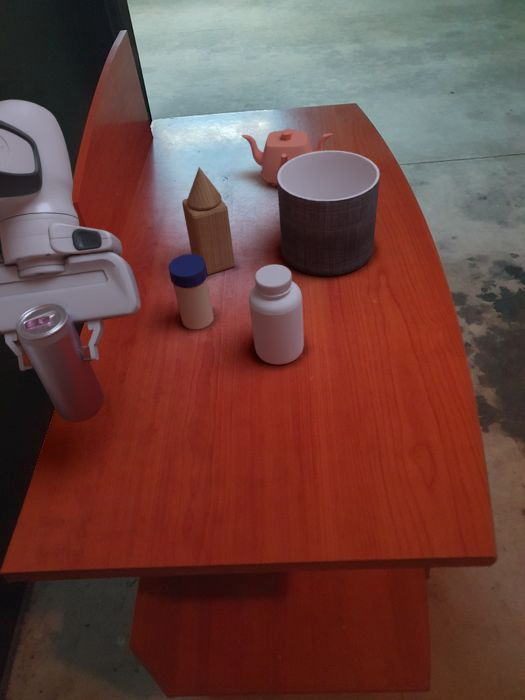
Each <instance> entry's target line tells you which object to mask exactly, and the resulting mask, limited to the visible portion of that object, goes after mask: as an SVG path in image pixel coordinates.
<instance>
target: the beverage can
mask: <svg viewBox="0 0 525 700" xmlns="http://www.w3.org/2000/svg"><path fill="white" fill-rule="evenodd" d="M16 331H17V333H18V339H19V342H20V344H21V345H22V346H23V348H24V350H25V352H26V354H27V356H28V358H29V360H30V361H31V363H32V365H33V367H34V369H33V370H34V371H35V373H36V375H37V376H38V379H39V380H40V382H41V384H42V386H43V388H44V390H45V391H46V393H47V395H48V397H49V399H50V401H51V402H52V404H53V406H54V408H55V410H56V412H57V414H58V416H59V417H60V418H61V419H63V420H65V421H68V422H71V423H82V422H86V421H89V420H90V419H92V418H94V417H95V416H96V415H97V414H98V413H100V411H101V409H102V407H103V405H104V404H105V403H104V402H105V395H104V391H103V388H102V387H101V385H100V382H99V380H98V377H97V375H96V372H95V370H94V368H93V366H92V364H91V361H86V362H84V361H83V357H82V356H83V353H82V347H83V346H84V344H83V342H82V340H81V337H80V335H79V332H78V331H77V328H76V326H75V324H74V323H73V321H72V319H71V317H70V315H69V314H68V313H67V311H66V310H65V309H64V308H63V307H62V306H60V305H57V304H43V305H39V306H36V307H33V308H31V309H29V310H28V311H26V312H25V313H24V314H22V315H21V316H20V318H19V319H18V321H17V323H16Z"/></svg>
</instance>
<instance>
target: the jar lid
mask: <svg viewBox="0 0 525 700" xmlns="http://www.w3.org/2000/svg"><path fill="white" fill-rule="evenodd" d="M168 272H169V277H170V282H171V283H172V285H173V284H174V285H176V286H178V287H181V288H191V287H195V286H198V285H200V284H201V283H203V282H204V281H205V280H206V278H207V279H208V276H209V275H208V274H207V268H206V263H205V260H204V259H203V258H202V257H201V256H199V255H195V254H192V253H187V254H182V255H178V256H176V257H174V258H173V259H172V260H171V261H170V262H169V265H168ZM174 285H173V286H174Z"/></svg>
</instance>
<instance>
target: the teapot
mask: <svg viewBox="0 0 525 700" xmlns="http://www.w3.org/2000/svg"><path fill="white" fill-rule="evenodd" d="M333 135H334V132H328V133H323V134H322V135H321V136H320V138H319V140H318V143H317V147H316V149H315V150H314V149H313V145H312V142H311V139H310V135H309V133H308V132H307V131H305V130H293V129H292V128H291V127H290V128H289V127H288V128H286V129H283V130H277V131H271V132H269V133H268V134H267V137H266V140H265V143H264V148H263V151H262V150H260V149H259V147H258V145H257V142H256V140H255V138H254V137H253V136H252V135H248V134H241V137H242V138H243V139H244V140H246V141H247V142H248V144H249V146H250V150H251V154H252V157H253V160H254V161H255V163H257V165H259V166H260V167H261V175H262V177H263V179H264V180H265V182H267V183H269V184H271V186H272V187H278V185H277V174H278V171H279V169H280V168H281V167H282V166H283V165H284V164H285V163H286V162H288V161H289V160H291V159H293V158H295V157H297V156H300V155H303V154H306V153H311V152H317V151H325V150H324V149H325V144H326V143H327V142H326V141H327V140H328V139H329V138H330V137H331V136H333Z"/></svg>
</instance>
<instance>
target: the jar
mask: <svg viewBox="0 0 525 700" xmlns="http://www.w3.org/2000/svg"><path fill="white" fill-rule="evenodd" d="M172 285H173V290H174V294H175V298H176V302H177V306H178V311H179V316H180V319H181V323H182V325H183V326H184V327H185V328H188V329H190V330H202V329H204V328H206V327H208V326H209V325H211V324H212V322H213V321H214V318H215V317H214V309H213V303H212V297H211V292H210V286H209V281H208V277H207V278H206V280H205V281H204V282H203V283H201V284H200V285H198V286H195V287H191V288H181V287H178V286H176V285H174V284H173V283H172Z"/></svg>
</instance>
